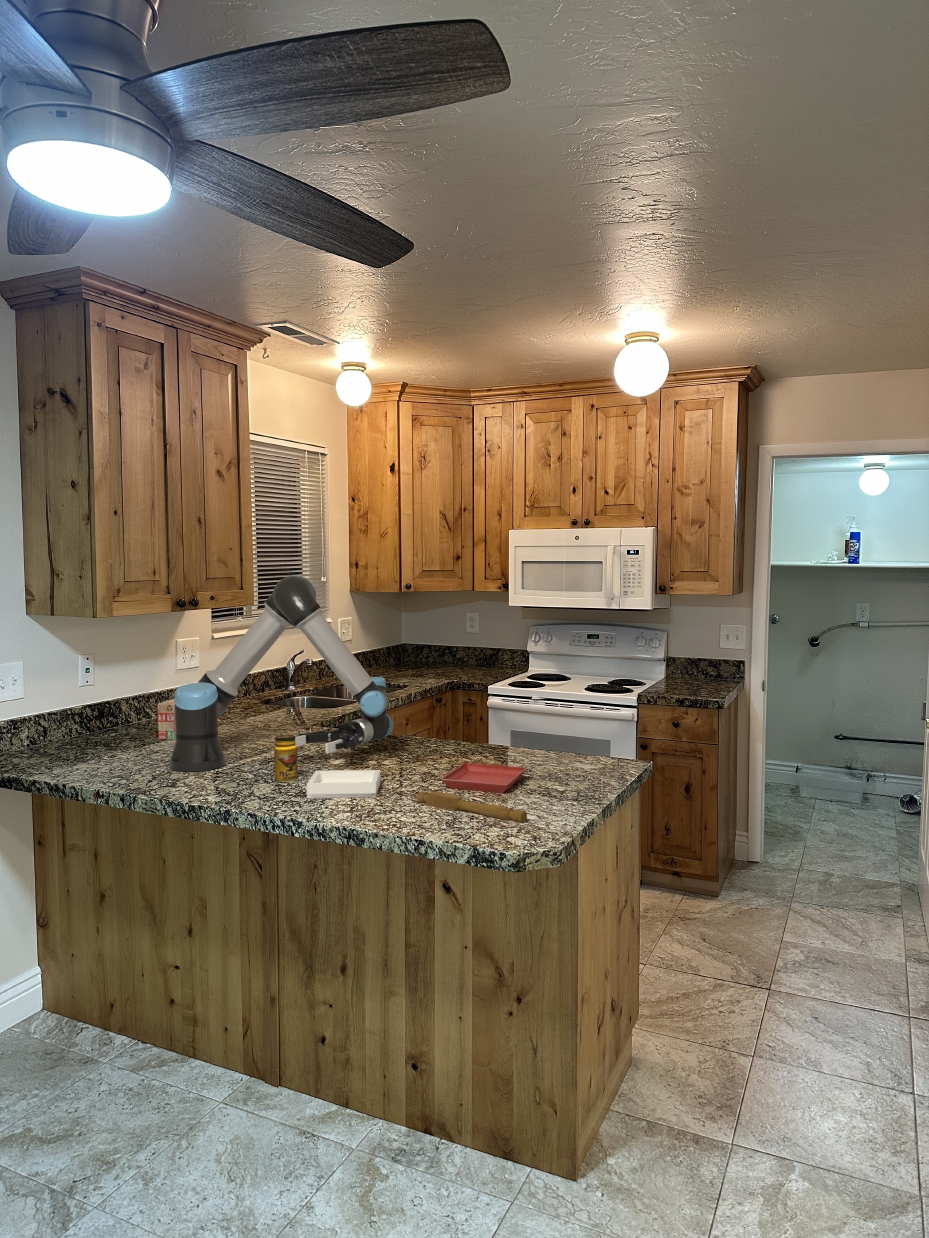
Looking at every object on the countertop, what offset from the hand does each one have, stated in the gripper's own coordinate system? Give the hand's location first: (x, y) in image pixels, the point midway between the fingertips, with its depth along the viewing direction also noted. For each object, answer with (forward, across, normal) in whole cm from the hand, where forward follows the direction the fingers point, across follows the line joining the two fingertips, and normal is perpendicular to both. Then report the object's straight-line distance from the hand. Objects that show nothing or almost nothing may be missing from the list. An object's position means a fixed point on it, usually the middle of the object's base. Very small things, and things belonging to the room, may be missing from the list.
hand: (307, 746), depth 232 cm
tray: (+10, -22, -7) cm, 25 cm away
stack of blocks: (-22, +76, -7) cm, 80 cm away
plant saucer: (-13, -49, -8) cm, 52 cm away
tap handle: (+11, -59, -8) cm, 60 cm away
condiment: (+10, 0, -8) cm, 12 cm away
